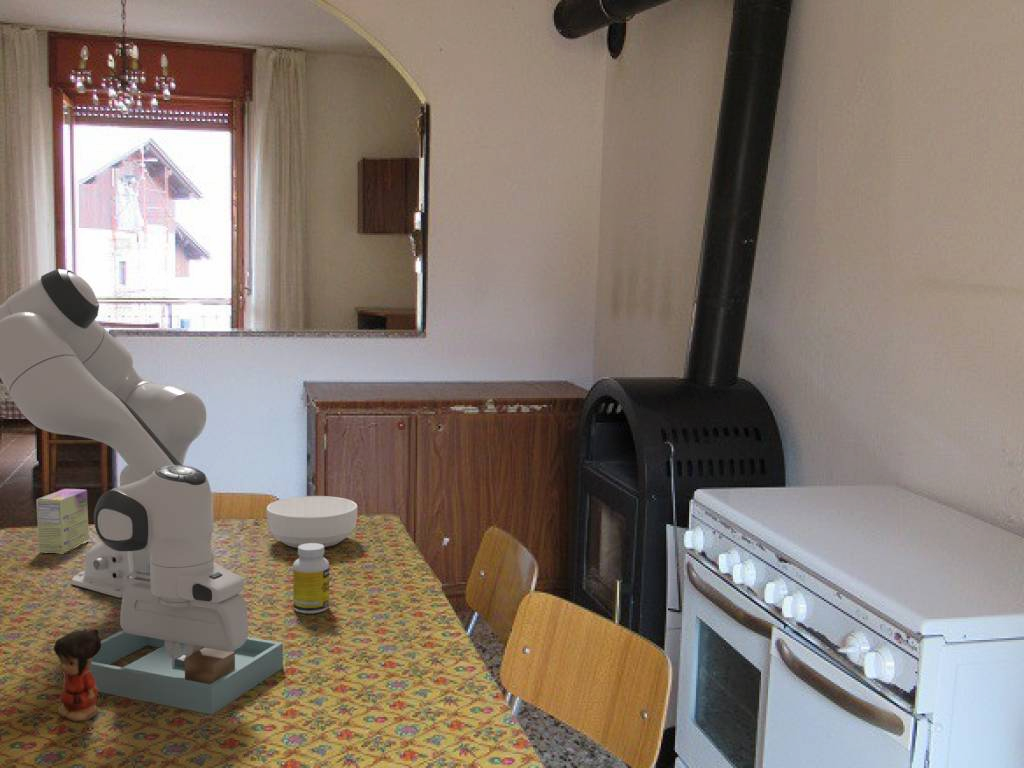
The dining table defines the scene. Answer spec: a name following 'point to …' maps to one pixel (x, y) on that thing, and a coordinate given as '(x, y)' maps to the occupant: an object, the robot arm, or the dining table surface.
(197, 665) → the block
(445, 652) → the dining table surface
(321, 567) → the pill bottle
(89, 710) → the figurine
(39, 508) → the box
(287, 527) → the bowl
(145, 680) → the tray
